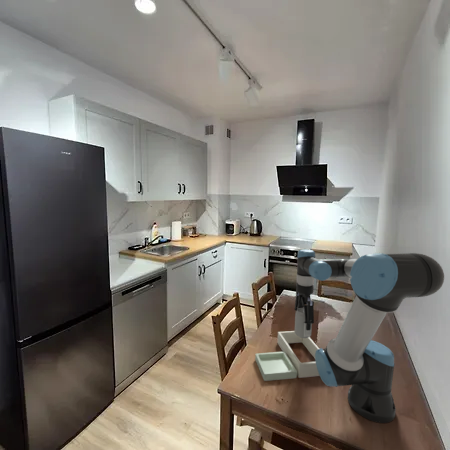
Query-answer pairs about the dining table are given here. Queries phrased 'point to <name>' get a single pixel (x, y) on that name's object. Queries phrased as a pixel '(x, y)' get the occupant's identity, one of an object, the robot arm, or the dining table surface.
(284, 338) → the white rectangular frame
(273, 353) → the tray
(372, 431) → the dining table surface
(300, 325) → the can
